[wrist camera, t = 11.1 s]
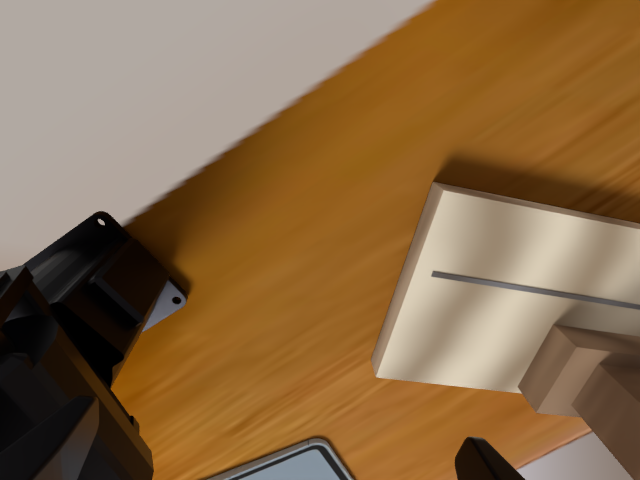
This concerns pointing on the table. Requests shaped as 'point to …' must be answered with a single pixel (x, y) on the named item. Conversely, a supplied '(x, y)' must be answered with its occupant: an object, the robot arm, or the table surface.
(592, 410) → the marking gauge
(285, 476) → the smartphone
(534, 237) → the birch board
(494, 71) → the table surface
